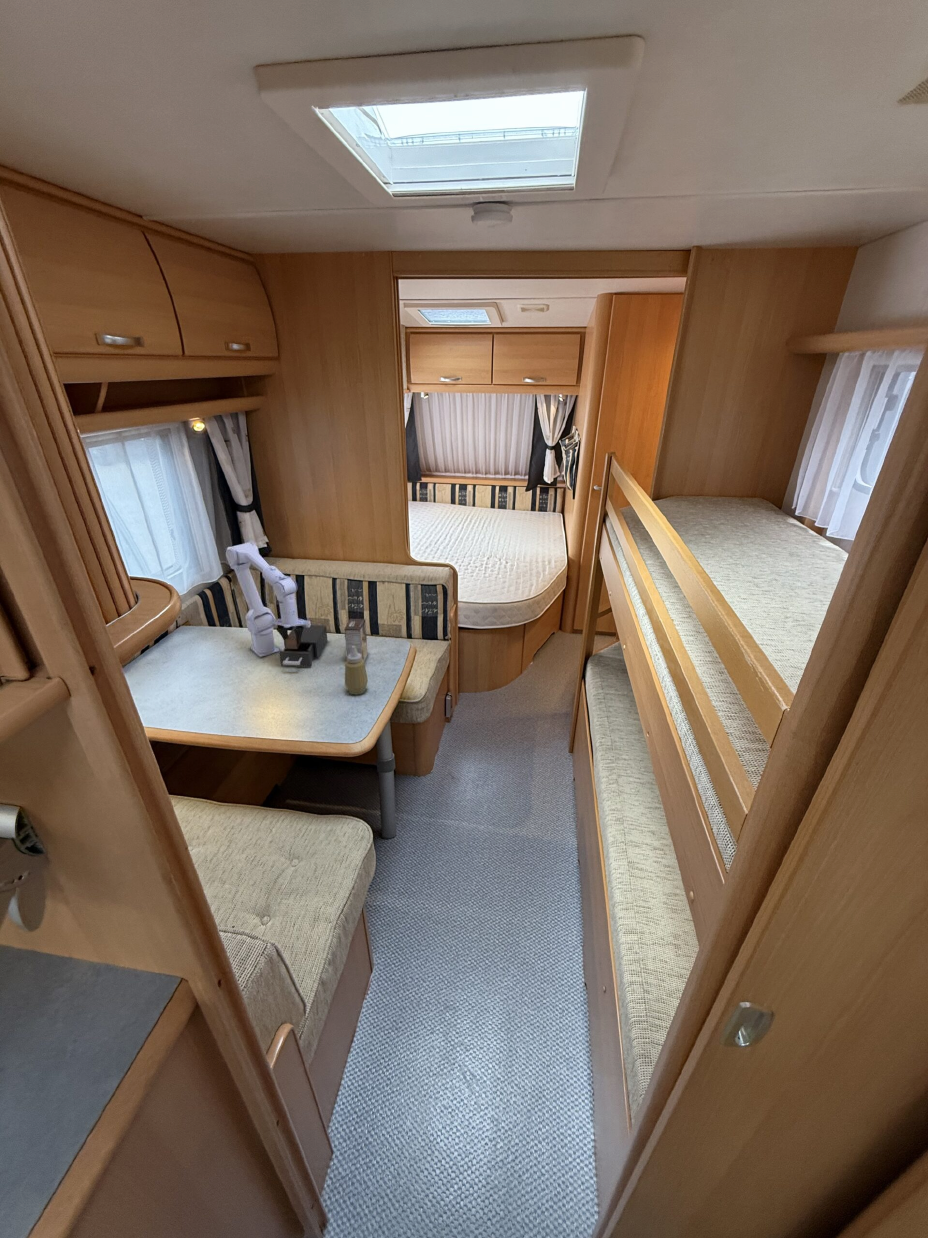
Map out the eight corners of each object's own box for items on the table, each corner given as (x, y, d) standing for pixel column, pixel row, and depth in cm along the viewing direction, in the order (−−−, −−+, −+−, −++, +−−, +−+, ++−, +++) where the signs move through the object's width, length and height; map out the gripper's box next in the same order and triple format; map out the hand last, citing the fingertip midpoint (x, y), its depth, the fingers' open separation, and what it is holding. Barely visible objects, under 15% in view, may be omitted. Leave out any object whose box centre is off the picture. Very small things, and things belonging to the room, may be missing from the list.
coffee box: (352, 653, 200) (349, 618, 193) (368, 654, 200) (365, 618, 193) (346, 665, 192) (344, 628, 184) (363, 666, 192) (361, 629, 184)
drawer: (307, 673, 184) (305, 659, 182) (276, 671, 184) (274, 658, 182) (320, 649, 200) (319, 636, 198) (292, 648, 200) (291, 635, 198)
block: (296, 649, 184) (295, 639, 182) (286, 648, 184) (284, 639, 182) (300, 643, 188) (299, 634, 186) (289, 643, 188) (288, 634, 186)
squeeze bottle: (363, 681, 182) (360, 639, 174) (372, 692, 176) (369, 648, 168) (342, 688, 178) (338, 644, 170) (350, 699, 172) (346, 654, 164)
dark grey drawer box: (317, 659, 195) (315, 642, 191) (286, 658, 195) (283, 641, 191) (327, 641, 208) (326, 625, 205) (297, 640, 208) (295, 624, 205)
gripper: (264, 614, 176) (269, 647, 182) (304, 615, 176) (308, 648, 182) (271, 606, 182) (276, 638, 188) (310, 607, 182) (314, 639, 188)
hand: (292, 642), depth 185 cm, fingers closed on block, 4 cm apart
